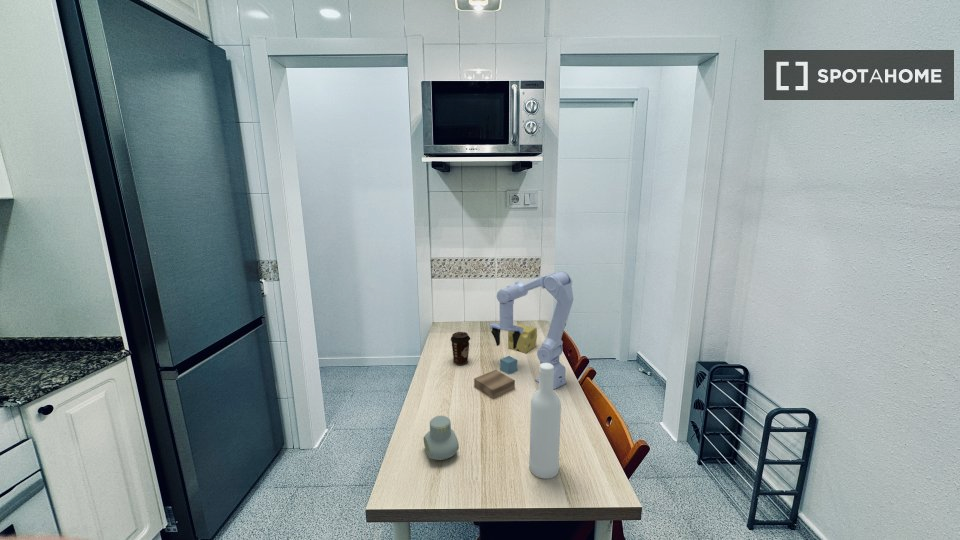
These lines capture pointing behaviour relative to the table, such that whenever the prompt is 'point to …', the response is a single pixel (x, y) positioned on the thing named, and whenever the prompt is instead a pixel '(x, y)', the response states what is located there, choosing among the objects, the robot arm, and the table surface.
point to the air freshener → (440, 439)
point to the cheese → (524, 339)
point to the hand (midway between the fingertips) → (506, 346)
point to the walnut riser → (494, 384)
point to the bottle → (545, 426)
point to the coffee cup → (460, 347)
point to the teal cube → (508, 365)
